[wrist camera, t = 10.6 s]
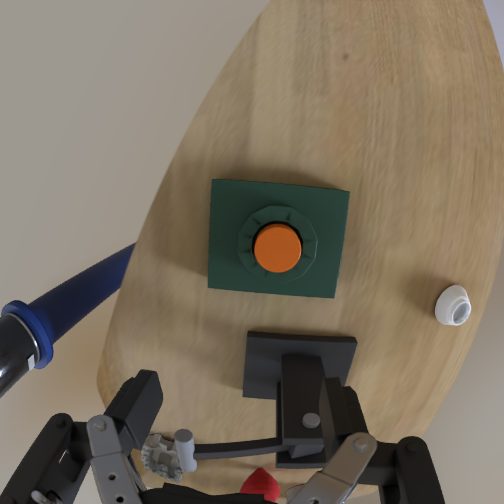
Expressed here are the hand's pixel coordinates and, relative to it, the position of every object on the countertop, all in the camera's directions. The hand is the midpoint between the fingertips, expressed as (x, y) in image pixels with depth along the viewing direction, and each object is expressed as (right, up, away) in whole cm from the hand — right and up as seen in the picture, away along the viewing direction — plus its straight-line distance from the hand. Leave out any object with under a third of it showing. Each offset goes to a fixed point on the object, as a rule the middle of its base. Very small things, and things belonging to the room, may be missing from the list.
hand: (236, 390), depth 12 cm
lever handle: (0, -9, +8) cm, 12 cm away
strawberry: (+2, -30, +25) cm, 39 cm away
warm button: (+3, +7, +11) cm, 14 cm away
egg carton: (-14, -27, +25) cm, 40 cm away
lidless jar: (+25, 0, +16) cm, 29 cm away
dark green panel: (+3, +8, +15) cm, 17 cm away
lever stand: (+6, -7, +18) cm, 21 cm away
